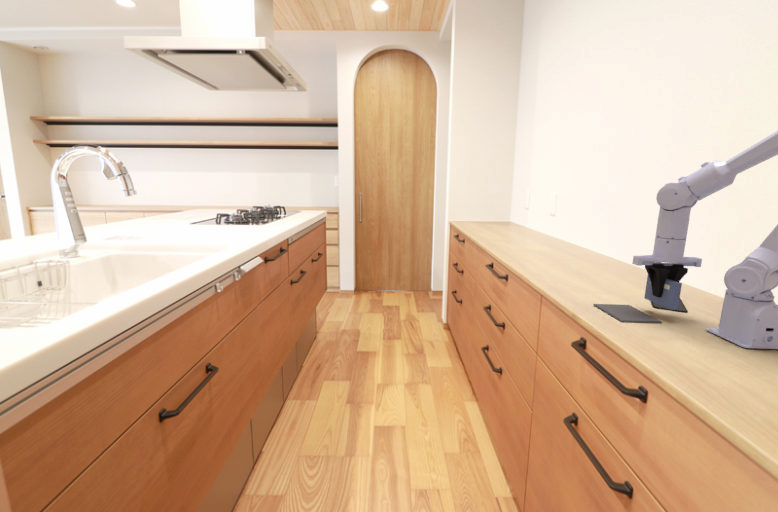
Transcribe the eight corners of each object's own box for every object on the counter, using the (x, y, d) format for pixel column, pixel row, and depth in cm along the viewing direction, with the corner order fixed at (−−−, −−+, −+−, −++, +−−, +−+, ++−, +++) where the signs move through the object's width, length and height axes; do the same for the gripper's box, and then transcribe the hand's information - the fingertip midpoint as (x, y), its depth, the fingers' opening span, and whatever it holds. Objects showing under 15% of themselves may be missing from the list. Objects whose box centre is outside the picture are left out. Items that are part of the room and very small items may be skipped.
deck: (677, 309, 89) (682, 283, 88) (670, 309, 89) (674, 283, 88) (650, 298, 97) (654, 274, 96) (644, 298, 97) (647, 274, 96)
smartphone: (652, 306, 100) (647, 292, 113) (652, 310, 100) (647, 295, 113) (689, 312, 96) (679, 296, 109) (688, 315, 97) (679, 299, 110)
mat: (661, 323, 89) (662, 321, 89) (621, 322, 88) (621, 320, 88) (628, 306, 100) (629, 304, 100) (593, 305, 100) (593, 303, 100)
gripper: (688, 236, 94) (679, 292, 97) (628, 234, 94) (620, 291, 96) (713, 240, 87) (702, 300, 90) (647, 238, 87) (638, 299, 89)
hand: (661, 296), depth 93 cm, fingers closed on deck, 2 cm apart
